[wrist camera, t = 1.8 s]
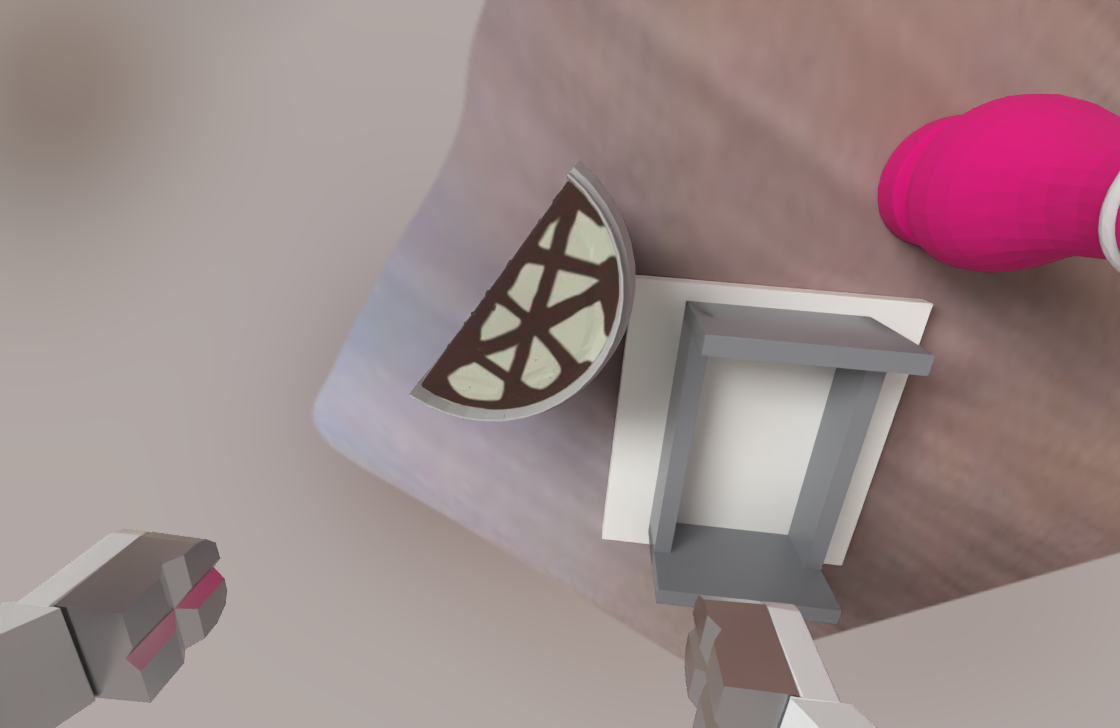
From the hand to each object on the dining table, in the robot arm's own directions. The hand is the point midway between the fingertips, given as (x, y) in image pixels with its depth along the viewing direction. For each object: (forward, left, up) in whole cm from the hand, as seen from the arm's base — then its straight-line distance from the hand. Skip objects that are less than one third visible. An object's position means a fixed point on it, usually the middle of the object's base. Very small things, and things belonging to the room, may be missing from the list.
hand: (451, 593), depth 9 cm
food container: (0, 0, -23) cm, 23 cm away
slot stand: (-12, +8, -23) cm, 27 cm away
